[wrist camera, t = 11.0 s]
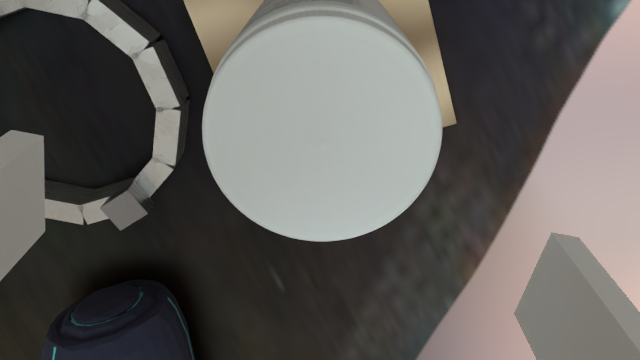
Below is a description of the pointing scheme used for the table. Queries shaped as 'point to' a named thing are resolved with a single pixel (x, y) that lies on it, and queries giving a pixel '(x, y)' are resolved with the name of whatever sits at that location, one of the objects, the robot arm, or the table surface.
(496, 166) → the table surface
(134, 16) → the collar
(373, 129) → the supplement tub
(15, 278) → the table surface
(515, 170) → the table surface
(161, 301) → the portable speaker
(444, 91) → the mat
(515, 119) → the table surface
